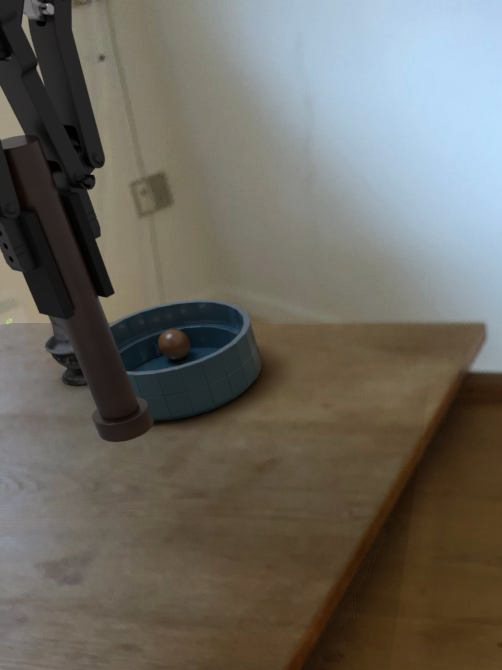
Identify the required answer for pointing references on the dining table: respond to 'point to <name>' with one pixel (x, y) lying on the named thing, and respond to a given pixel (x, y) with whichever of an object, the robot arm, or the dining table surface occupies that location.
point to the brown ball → (174, 344)
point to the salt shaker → (64, 354)
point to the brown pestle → (78, 296)
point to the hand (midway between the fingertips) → (77, 302)
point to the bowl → (188, 356)
